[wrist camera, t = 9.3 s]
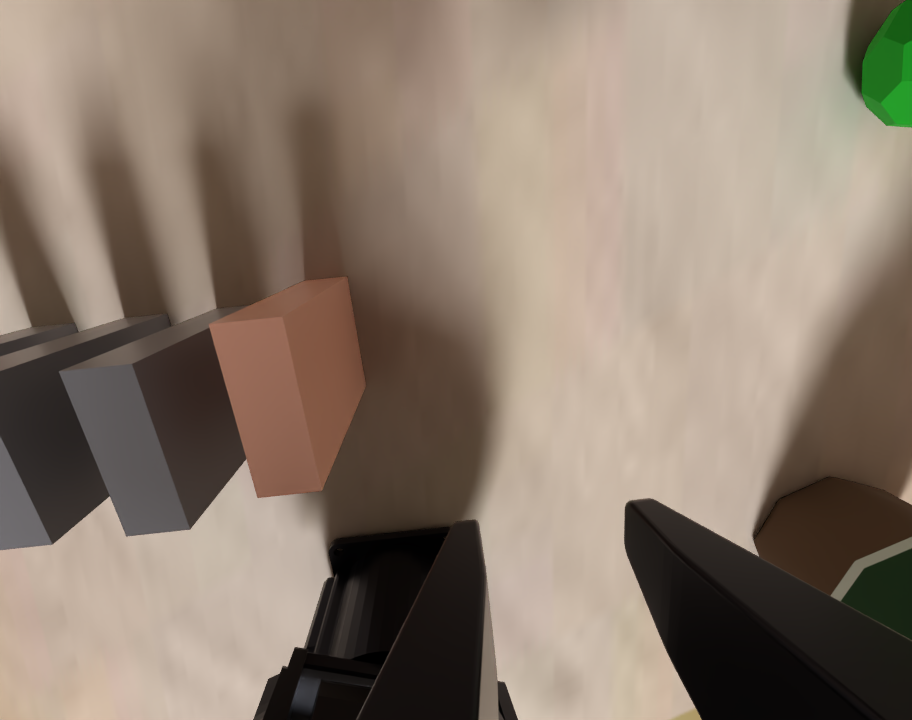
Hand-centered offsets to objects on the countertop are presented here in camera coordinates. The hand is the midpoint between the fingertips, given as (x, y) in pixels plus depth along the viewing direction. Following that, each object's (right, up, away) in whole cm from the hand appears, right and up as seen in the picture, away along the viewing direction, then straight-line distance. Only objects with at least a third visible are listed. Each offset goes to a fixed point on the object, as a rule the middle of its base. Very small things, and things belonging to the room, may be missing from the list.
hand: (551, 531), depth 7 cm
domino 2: (-11, +3, +12) cm, 16 cm away
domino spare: (-7, +4, +12) cm, 14 cm away
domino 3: (-15, +2, +12) cm, 19 cm away
